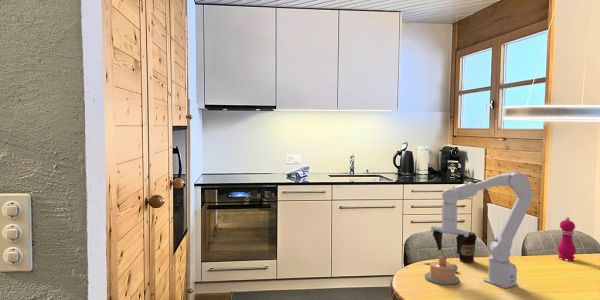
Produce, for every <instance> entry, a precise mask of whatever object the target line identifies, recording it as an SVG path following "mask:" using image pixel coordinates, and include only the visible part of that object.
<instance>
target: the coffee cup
mask: <svg viewBox="0 0 600 300" xmlns="http://www.w3.org/2000/svg"><path fill="white" fill-rule="evenodd" d="M477 238H478V236H477V234H476V233H475V232H472V231H471V232H470V231H469V236H468V237H466V239H465V241H464V243H463V245H462V248H461V252H460V253H459V254H458V258H459V259H460V260H461V261H460V260H459V259H458V260H459V261H460V262H462V261H465V262H464V263H468V262H471V263H474V262H475V258H474V257H475V252H476V242H477Z"/></svg>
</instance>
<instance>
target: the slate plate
mask: <svg viewBox="0 0 600 300" xmlns="http://www.w3.org/2000/svg"><path fill="white" fill-rule="evenodd" d="M424 278H425V280H426V281H428V282H430V283H432V284H436V285H440V286H441V285H442V286H454V285H458V284H459V283H460V277H459V276H457V275H455V279H454V280H451V281H442V280H437V279H434V278H431V275H430V271H429V272H426V273H425V274H424Z"/></svg>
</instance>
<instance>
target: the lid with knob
mask: <svg viewBox="0 0 600 300" xmlns="http://www.w3.org/2000/svg"><path fill="white" fill-rule="evenodd" d="M446 262H447V256H444V255H439V256H438V261H432V262H430V264H429V272H430V275H431V278H434V279H437V280H442V281H451V280H454V279H455V276H456V271H455V265H456V264H455V265H453V264H454V263H450V262H449V263H446Z"/></svg>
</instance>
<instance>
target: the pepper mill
mask: <svg viewBox="0 0 600 300" xmlns="http://www.w3.org/2000/svg"><path fill="white" fill-rule="evenodd" d="M564 219H565V220H562V221H561V222H560V223H559V228H560V233H561V239H560V242H559V244H558V246H557V251H558V253H559V254H558V259H559V258H562V259H568V260H573V259H576V258H575V257H576V256H575V255H576V253H577V249H576V246H575V244H574V242H573V235H574V230H575V229H576V225H575V222H574V221H572V220H570V219H571V218H570V217H569V216H566V217H565V218H564Z"/></svg>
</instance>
